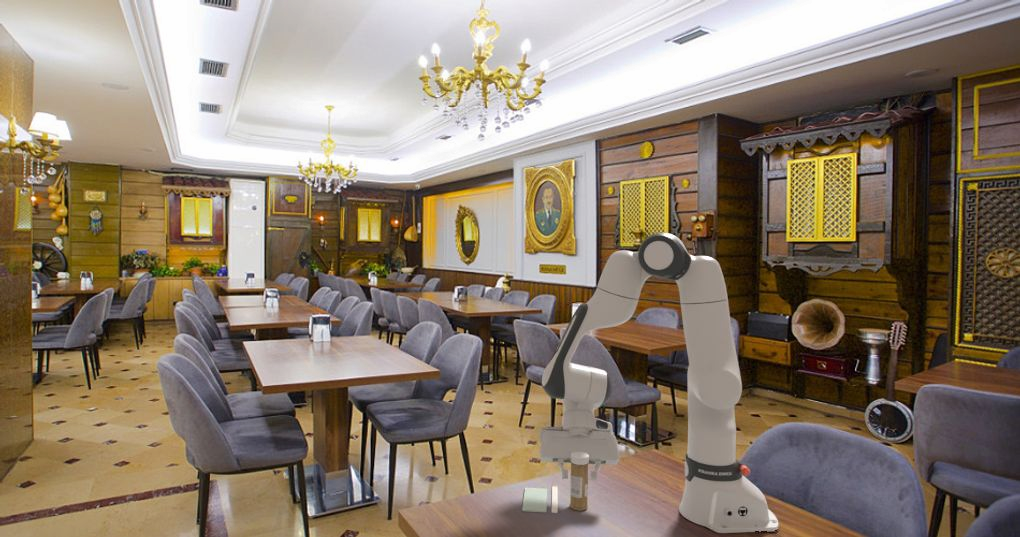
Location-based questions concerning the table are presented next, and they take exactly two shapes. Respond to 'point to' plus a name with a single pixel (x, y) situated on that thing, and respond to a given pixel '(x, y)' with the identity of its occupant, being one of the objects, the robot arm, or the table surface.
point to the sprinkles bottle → (579, 480)
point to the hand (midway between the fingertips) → (579, 479)
